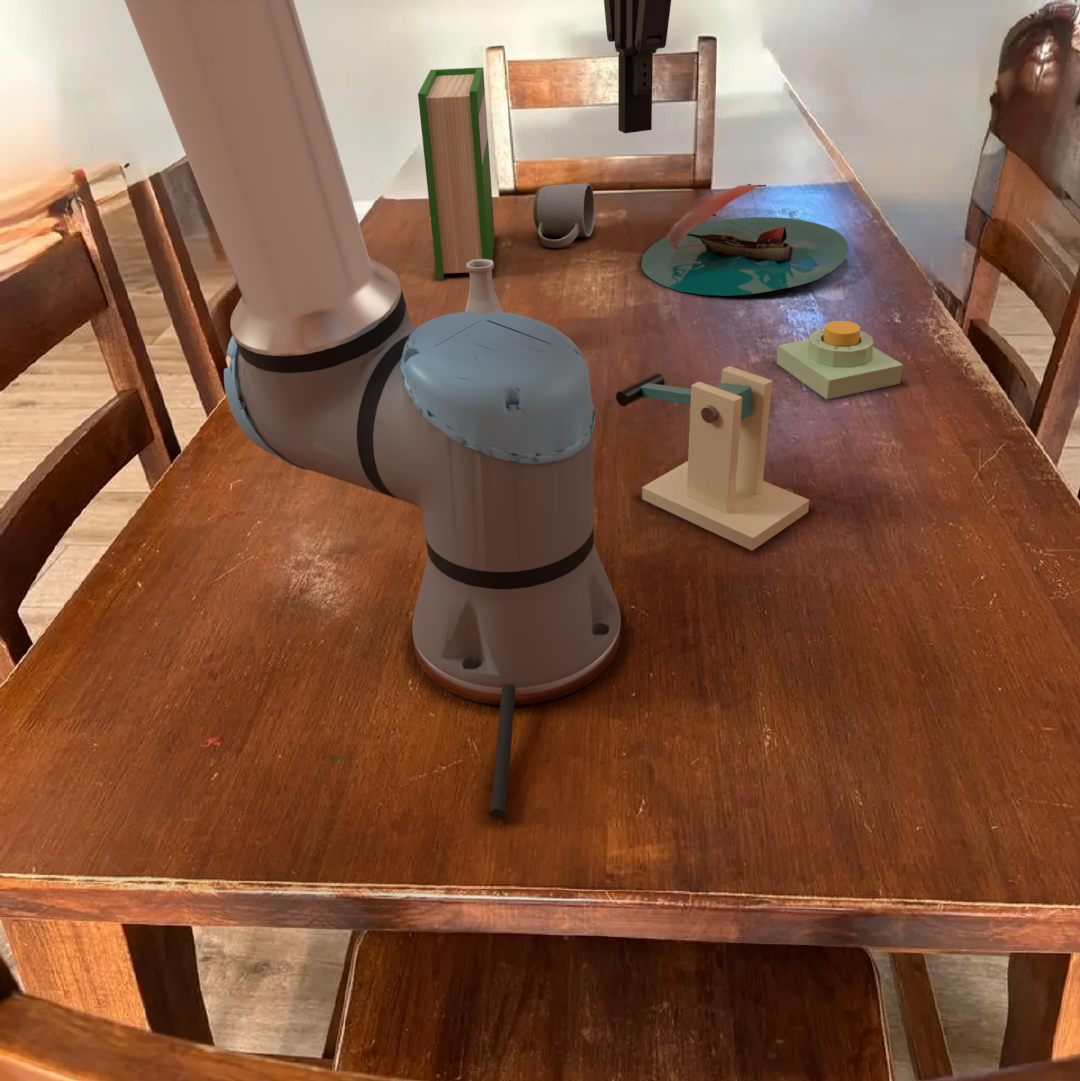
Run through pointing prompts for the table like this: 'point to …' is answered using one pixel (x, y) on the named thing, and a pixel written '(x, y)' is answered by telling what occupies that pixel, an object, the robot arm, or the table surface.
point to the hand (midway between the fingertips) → (634, 129)
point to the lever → (677, 393)
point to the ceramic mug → (564, 213)
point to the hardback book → (457, 167)
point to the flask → (482, 287)
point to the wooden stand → (728, 467)
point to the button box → (839, 365)
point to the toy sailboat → (741, 251)
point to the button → (842, 334)
